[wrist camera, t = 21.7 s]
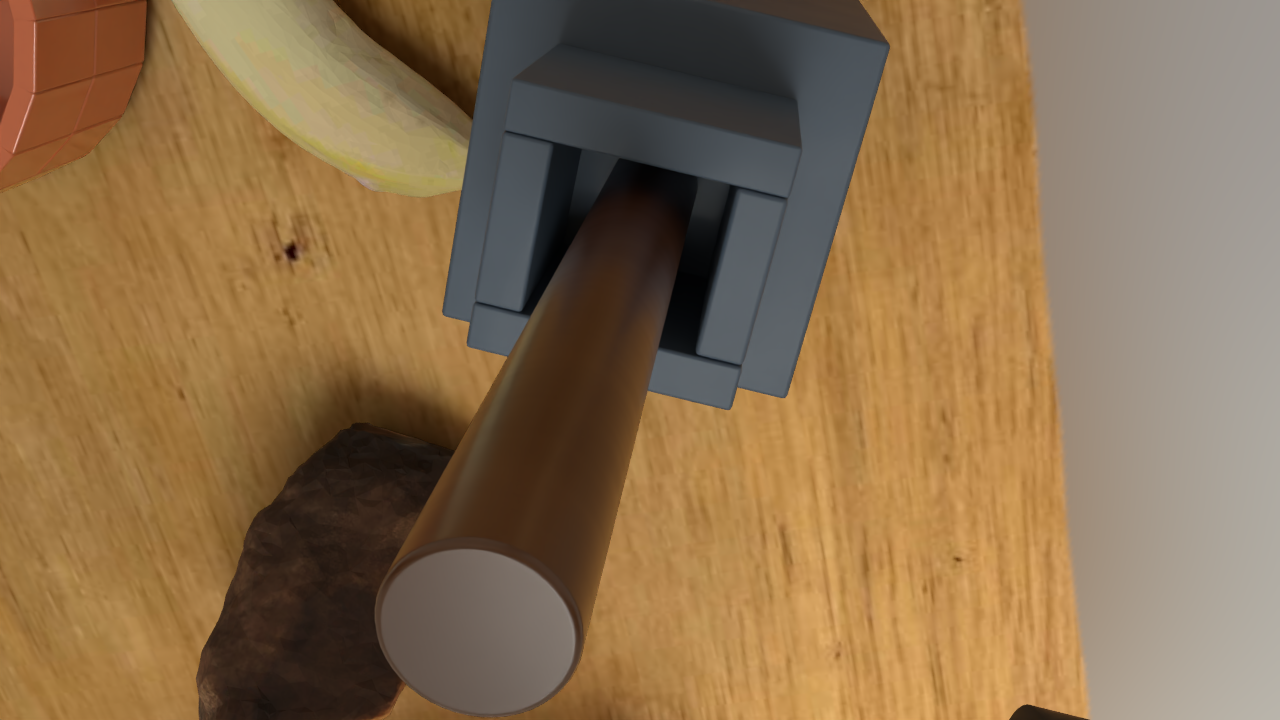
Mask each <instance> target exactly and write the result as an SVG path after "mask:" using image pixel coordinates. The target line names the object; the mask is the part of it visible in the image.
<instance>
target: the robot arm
mask: <svg viewBox="0 0 1280 720" xmlns="http://www.w3.org/2000/svg"><path fill="white" fill-rule="evenodd" d="M1009 720H1088V719H1084V718H1080V717H1076V716H1072V715H1068V714H1064V713H1060V712H1056V711H1052V710H1048V709H1044V708H1040V707H1036V706H1032V705H1028V704H1027V705H1023V706H1021V707H1020V708H1018V709H1017V710H1016V711H1015V712H1014V714H1013V715H1012V716H1011V718H1010V719H1009Z"/></svg>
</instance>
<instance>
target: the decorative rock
mask: <svg viewBox="0 0 1280 720" xmlns="http://www.w3.org/2000/svg"><path fill="white" fill-rule="evenodd" d="M454 452H455V451H454V450H450V449H447V448H444V447H441V446H437V445H434V444H431V443H428V442H425V441H423V440H420V439H417V438H414V437H409V436H406V435H403V434H399V433H396V432H393V431H390V430H387V429H383V428H379V427H376V426H373V425H371V424H370V423H354V424H352V426H351V428H350V429H344V430H340V432H339V433H338V434H337V435H336V436H335V437H334V438H333V439H332V440H331V441H329V442H328V443H327V444H326V445H324V446H323V447H322V448H321V449H319V450H318V451H317V452H315V453H314V454H313V455H312V456H311V457H310V458H309V459H308V460H307V461H306V462H305V463H304V464H302V465H301V466H299V467H298V468H297V470H296V471H295V472H294V474H293V475H292V476H290V477H289V478H288V480H287V482H286V484H285V486H284V489H283V490H282V492H281V493H280V494H279V495H278V497H277V498H276V499H275V500H274V501H273V502H272V504H271V505H269V506H267V507H266V508H264V509H263V510H261V511H260V512H258V514H257V515H256V516H255V518H254V520H253V522H252V523H251V525H250V527H249V529H248V531H247V534H246V537H245V540H244V546H243V551H242V554H241V556H240V559H239V562H238V567H237V571H236V574H235V576H234V578H233V580H232V582H231V584H230V587H229V589H228V592H227V594H226V597H225V602H224V606H223V610H222V612H221V615H220V618H219V620H218V622H217V624H216V626H215V628H214V630H213V631H212V633H211V635H210V637H209V639H208V641H207V643H206V644H205V646H204V648H203V650H202V653H201V659H200V664H199V668H198V672H197V676H196V682H197V688H198V693H199V720H382V719H383V718H385V717H386V716H388V715H389V714H391V711H392V709H393V707H394V705H395V703H396V701H397V698H398V696H399V694H400V693H401V691H402V690H403V688H404V687H405V685H406V683H405V682H404V681H403V680H402V679H401V678H400V677H399V676H398V675H397V674H396V672H395V671H394V670H393V669H392V667H391V666H390V664H389V662H388V661H387V659H386V658H385V655H384V653H383V651H382V649H381V647H380V643H379V640H378V637H377V631H376V625H375V604H376V597H377V594H378V591H379V588H380V585H381V583H382V581H383V579H384V578H385V576H386V574H387V572H388V570H389V568H390V567H391V565H392V563H393V561H394V560H395V558H396V556H397V554H398V552H399V551H400V549H401V547H402V545H403V543H404V542H405V540H406V538H407V536H408V534H409V533H410V531H411V529H412V527H413V526H414V524H415V522H416V520H417V518H418V517H419V515H420V513H421V511H422V509H423V508H424V506H425V504H426V502H427V501H428V499H429V497H430V495H431V493H432V492H433V490H434V488H435V486H436V484H437V483H438V481H439V479H440V477H441V475H442V474H443V472H444V470H445V468H446V467H447V465H448V463H449V461H450V459H451V458H452V456H453V454H454Z"/></svg>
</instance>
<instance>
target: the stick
mask: <svg viewBox="0 0 1280 720" xmlns="http://www.w3.org/2000/svg"><path fill="white" fill-rule="evenodd" d="M696 194H697V177H696V176H693V175H688V174H684V173H680V172H676V171H672V170H668V169H663V168H659V167H655V166H651V165H647V164H643V163H639V162H634V161H630V160H626V159H622V158H619V160H618V161H617V163H616V164H615V166H614V168H613V170H612V172H611V173H610V175H609V177H608V179H607V180H606V182H605V184H604V186H603V188H602V189H601V191H600V193H599V195H598V197H597V198H596V200H595V202H594V204H593V206H592V207H591V209H590V211H589V213H588V214H587V216H586V218H585V220H584V222H583V223H582V225H581V227H580V229H579V231H578V232H577V234H576V236H575V238H574V239H573V241H572V243H571V245H570V247H569V248H568V250H567V252H566V254H565V256H564V257H563V259H562V261H561V263H560V265H559V266H558V268H557V270H556V272H555V273H554V275H553V277H552V279H551V281H550V282H549V284H548V286H547V288H546V290H545V291H544V293H543V295H542V297H541V298H540V300H539V302H538V304H537V306H536V307H535V309H534V311H533V313H532V315H531V316H530V318H529V320H528V322H527V324H526V325H525V327H524V329H523V331H522V332H521V334H520V336H519V338H518V340H517V341H516V343H515V345H514V347H513V349H512V350H511V352H510V354H509V356H508V357H507V359H506V361H505V363H504V365H503V366H502V368H501V370H500V372H499V374H498V375H497V377H496V379H495V381H494V383H493V384H492V386H491V388H490V390H489V391H488V393H487V395H486V397H485V399H484V400H483V402H482V404H481V406H480V408H479V409H478V411H477V413H476V415H475V416H474V418H473V420H472V422H471V424H470V425H469V427H468V429H467V431H466V433H465V434H464V436H463V438H462V440H461V442H460V443H459V445H458V447H457V449H456V450H455V452H454V454H453V456H452V458H451V459H450V461H449V463H448V465H447V467H446V468H445V470H444V472H443V474H442V475H441V477H440V479H439V481H438V483H437V484H436V486H435V488H434V490H433V492H432V493H431V495H430V497H429V499H428V501H427V502H426V504H425V506H424V508H423V509H422V511H421V513H420V515H419V517H418V518H417V520H416V522H415V524H414V526H413V527H412V529H411V531H410V533H409V534H408V536H407V538H406V540H405V542H404V543H403V545H402V547H401V549H400V551H399V552H398V554H397V556H396V558H395V560H394V561H393V563H392V565H391V567H390V568H389V570H388V572H387V574H386V576H385V578H384V579H383V581H382V583H381V585H380V588H379V591H378V594H377V597H376V604H375V625H376V631H377V637H378V640H379V643H380V647H381V649H382V651H383V653H384V655H385V658H386V659H387V661H388V662H389V664H390V666H391V667H392V669H393V670H394V671H395V672H396V674H397V675H398V676H399V677H400V678H401V679H402V680H403V681H404V682H405V683H406V684H407V685H408V686H409V687H410V688H411V689H412V690H414V691H415V692H416V693H418V694H419V695H420V696H422V697H424V698H425V699H427V700H428V701H430V702H432V703H434V704H436V705H438V706H440V707H442V708H445V709H448V710H451V711H453V712H457V713H461V714H465V715H470V716H477V717H505V716H511V715H516V714H520V713H523V712H526V711H529V710H532V709H534V708H536V707H538V706H540V705H542V704H543V703H545V702H547V701H548V700H550V699H551V698H552V697H554V696H555V695H556V694H557V693H558V692H559V691H560V690H562V689H563V688H564V686H565V685H566V684H567V683H568V682H569V681H570V679H571V678H572V676H573V674H574V673H575V671H576V669H577V667H578V665H579V662H580V660H581V656H582V652H583V648H584V644H585V640H586V636H587V632H588V628H589V624H590V620H591V616H592V612H593V608H594V604H595V600H596V596H597V592H598V588H599V584H600V580H601V576H602V572H603V568H604V564H605V560H606V556H607V552H608V548H609V544H610V540H611V535H612V531H613V527H614V523H615V519H616V515H617V511H618V507H619V503H620V499H621V495H622V491H623V487H624V483H625V479H626V475H627V471H628V467H629V463H630V459H631V455H632V451H633V447H634V443H635V439H636V435H637V431H638V427H639V423H640V419H641V415H642V411H643V407H644V403H645V399H646V395H647V391H648V387H649V383H650V379H651V375H652V371H653V367H654V363H655V359H656V355H657V351H658V347H659V343H660V339H661V335H662V331H663V327H664V323H665V319H666V315H667V311H668V306H669V302H670V298H671V294H672V290H673V286H674V282H675V278H676V274H677V270H678V266H679V262H680V258H681V254H682V250H683V246H684V242H685V238H686V234H687V230H688V226H689V222H690V218H691V214H692V210H693V206H694V202H695V198H696Z"/></svg>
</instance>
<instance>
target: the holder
mask: <svg viewBox="0 0 1280 720" xmlns="http://www.w3.org/2000/svg"><path fill="white" fill-rule="evenodd" d="M889 49H890V46H889V43H888V42H887V40H886V39H885V37H884V36H883V34H882V33H881V32H880V30H879V29H878V27H877V26H876V24H875V23H874V21H873V20H872V19H871V17H870V16H869V14H868V13H867V11H866V10H865V9H864V7H863V6H862V4H861V3H860V1H859V0H492V2H491V9H490V15H489V21H488V27H487V34H486V40H485V46H484V52H483V59H482V65H481V71H480V78H479V84H478V90H477V96H476V103H475V109H474V115H473V121H472V128H471V134H470V140H469V147H468V153H467V159H466V165H465V172H464V178H463V184H462V190H461V197H460V203H459V209H458V215H457V222H456V228H455V234H454V241H453V247H452V253H451V259H450V266H449V272H448V278H447V284H446V291H445V297H444V303H443V310H442V312H443V315H444V316H446V317H451V318H455V319H459V320H463V321H467V322H470V326H469V332H468V337H467V346H468V347H470V348H475V349H479V350H483V351H487V352H491V353H495V354H499V355H503V356H507V357H508V356H509V354H510V352H511V350H512V349H513V347H514V345H515V343H516V341H517V340H518V338H519V336H520V334H521V332H522V331H523V329H524V327H525V325H526V324H527V322H528V320H529V318H530V316H531V315H532V313H533V311H534V309H535V307H536V306H537V304H538V302H539V300H540V298H541V297H542V295H543V293H544V291H545V290H546V288H547V286H548V284H549V282H550V281H551V279H552V277H553V275H554V273H555V272H556V270H557V268H558V266H559V265H560V263H561V261H562V259H563V257H564V256H565V254H566V252H567V250H568V248H569V247H570V245H571V243H572V241H573V239H574V238H575V236H576V234H577V232H578V231H579V229H580V227H581V225H582V223H583V222H584V220H585V218H586V216H587V214H588V213H589V211H590V209H591V207H592V206H593V204H594V202H595V200H596V198H597V197H598V195H599V193H600V191H601V189H602V188H603V186H604V184H605V182H606V180H607V179H608V177H609V175H610V173H611V172H612V170H613V168H614V166H615V164H616V163H617V161H618V160H619V158H622V159H626V160H630V161H634V162H639V163H643V164H647V165H651V166H655V167H659V168H663V169H668V170H672V171H676V172H680V173H684V174H688V175H693V176H696V177H697V194H696V198H695V202H694V206H693V210H692V214H691V218H690V222H689V226H688V230H687V234H686V238H685V242H684V246H683V250H682V254H681V258H680V262H679V266H678V270H677V274H676V278H675V282H674V286H673V290H672V294H671V298H670V302H669V306H668V311H667V315H666V319H665V323H664V327H663V331H662V335H661V339H660V343H659V347H658V351H657V355H656V359H655V363H654V367H653V371H652V375H651V379H650V383H649V387H648V391H651V392H655V393H659V394H663V395H668V396H672V397H676V398H680V399H684V400H688V401H692V402H696V403H700V404H705V405H709V406H713V407H717V408H721V409H725V410H730V409H731V407H732V405H733V401H734V397H735V394H736V390H737V387H738V388H743V389H747V390H751V391H755V392H759V393H763V394H767V395H771V396H775V397H780V398H785V397H786V396H787V394H788V391H789V388H790V384H791V381H792V377H793V374H794V371H795V367H796V364H797V360H798V357H799V354H800V350H801V347H802V344H803V340H804V337H805V333H806V330H807V327H808V323H809V320H810V316H811V313H812V310H813V306H814V303H815V300H816V296H817V293H818V289H819V286H820V283H821V279H822V276H823V272H824V269H825V266H826V262H827V259H828V256H829V252H830V249H831V245H832V242H833V239H834V235H835V232H836V228H837V225H838V222H839V218H840V215H841V212H842V208H843V205H844V201H845V198H846V195H847V191H848V188H849V184H850V181H851V178H852V174H853V171H854V168H855V164H856V161H857V157H858V154H859V151H860V147H861V144H862V140H863V137H864V134H865V130H866V127H867V124H868V120H869V117H870V113H871V110H872V107H873V103H874V100H875V96H876V93H877V90H878V86H879V83H880V80H881V76H882V73H883V69H884V66H885V63H886V59H887V56H888V53H889Z"/></svg>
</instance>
